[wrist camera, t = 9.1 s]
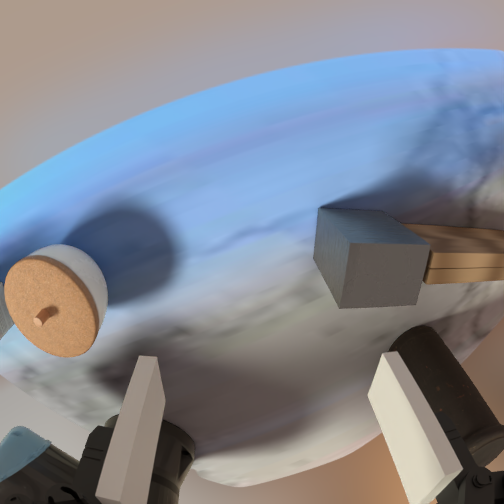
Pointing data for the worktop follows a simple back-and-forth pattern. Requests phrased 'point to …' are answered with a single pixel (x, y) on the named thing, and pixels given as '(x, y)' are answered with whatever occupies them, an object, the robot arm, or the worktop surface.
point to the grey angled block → (369, 258)
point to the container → (451, 391)
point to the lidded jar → (57, 299)
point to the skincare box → (4, 314)
